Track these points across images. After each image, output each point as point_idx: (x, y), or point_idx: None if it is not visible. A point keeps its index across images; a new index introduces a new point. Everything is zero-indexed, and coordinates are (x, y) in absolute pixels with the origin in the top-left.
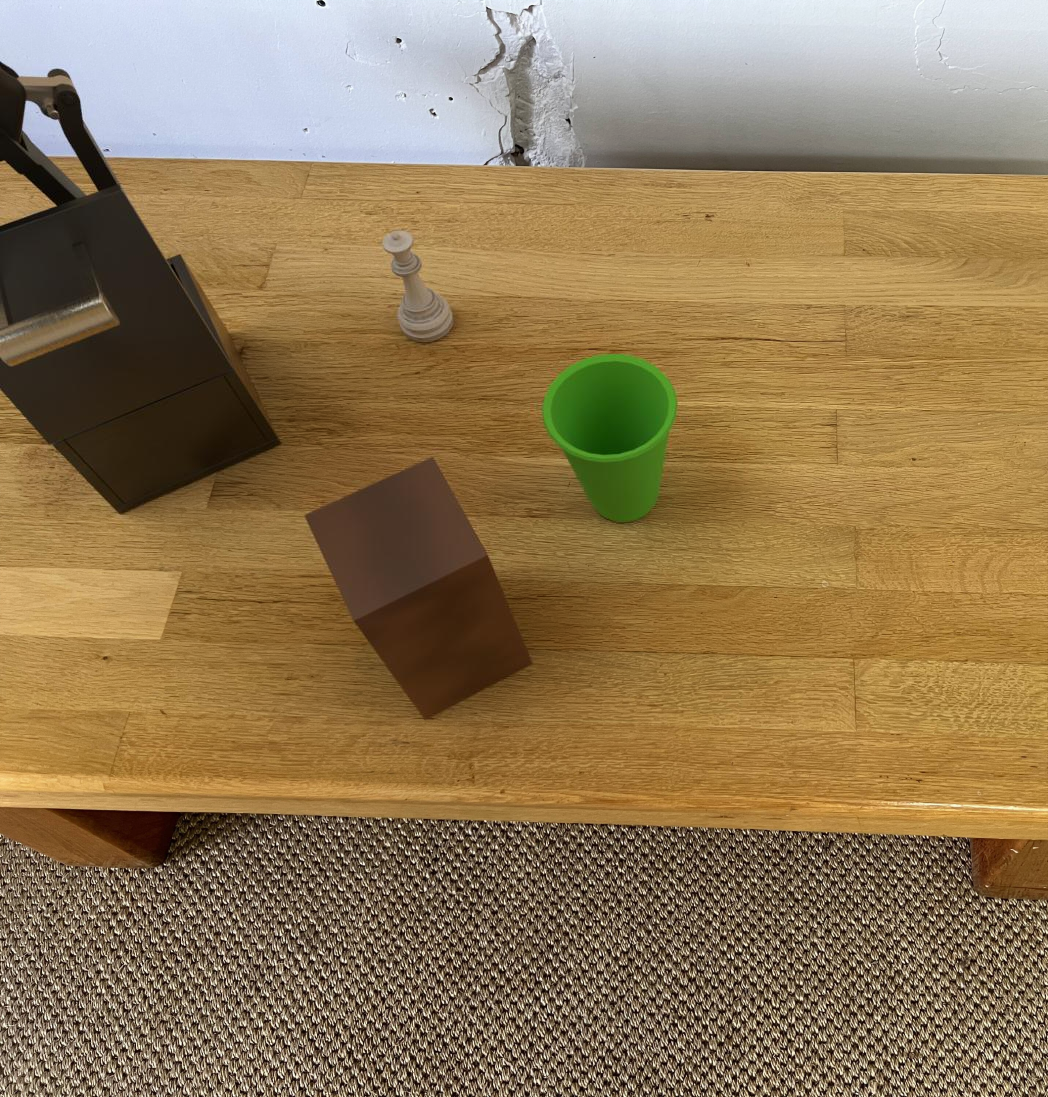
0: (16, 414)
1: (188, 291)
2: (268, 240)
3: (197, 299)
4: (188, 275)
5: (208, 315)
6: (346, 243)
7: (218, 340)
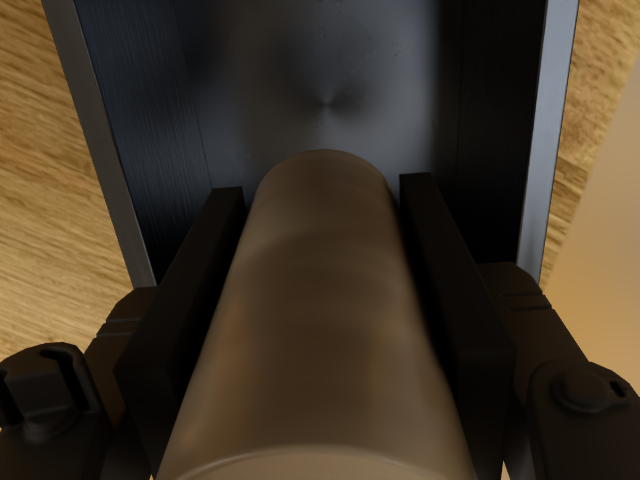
0: (561, 230)
1: (144, 265)
2: None
3: (123, 232)
4: None
5: (95, 169)
6: (18, 338)
7: (66, 64)
